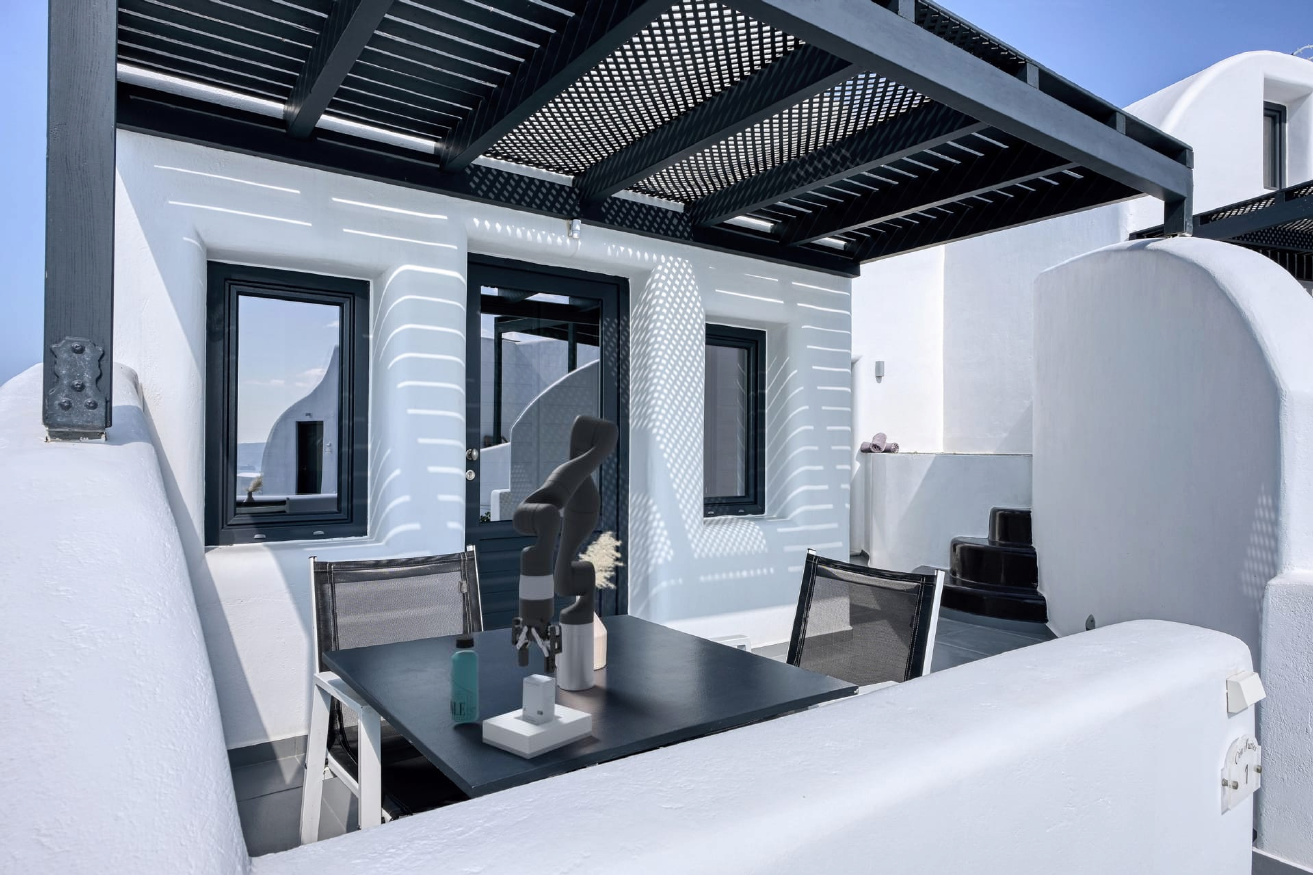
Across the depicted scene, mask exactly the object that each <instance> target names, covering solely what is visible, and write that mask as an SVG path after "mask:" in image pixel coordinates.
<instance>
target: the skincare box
mask: <svg viewBox="0 0 1313 875" xmlns="http://www.w3.org/2000/svg"><path fill="white" fill-rule="evenodd" d="M522 680H523V682H522V684H523V686H522V708H521V709H522V721H524V722H527V723H530V724H533V725H536V726H539V725H542V724H544V723H547V722H550V721H553V720H554V713H555V704H556V685H557V678H555V677H551V676H546V675H541V674H537V673H536V674H531V675H529V676H526V677H524V678H523V679H522Z"/></svg>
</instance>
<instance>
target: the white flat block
mask: <svg viewBox="0 0 1313 875" xmlns="http://www.w3.org/2000/svg"><path fill="white" fill-rule="evenodd" d="M522 709H523V708H520V709H519V708H518V709H517V710H513V711H510V712H507V713H504V714H500V715H496V716H493V717H490V718H487V719H484V720H482V743H485V744H488V745H490V746H493V747H495V748H498V749H501V750H503V751H507V752H509V753H511V754H514V755H517V756H520V757H523V758H525V759H527V760H528V759H531V758H535V757H537V756H540V755H543V754H545V753H548V752H550V751H553V750H556V749H559V748H562V747H564V746H567V745H569V744H572V743H575V742H577V741H580V740H583V739H586V738H588V737H591V736H592V735H593V734H592V732H593V726H592V725H593V724H592V721H593V720H592V718H593V714H592V713H587V712H583V711H582V710H581V711H580V710H577V709H574V708H570V707H567V706H564V705H560V704H557V703H555V713H554V720H553V721H550V722H547V723H544V724H542V725H539V726H536V725H533V724H530V723H527V722H524V721H522Z"/></svg>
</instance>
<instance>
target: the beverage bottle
mask: <svg viewBox="0 0 1313 875" xmlns="http://www.w3.org/2000/svg"><path fill="white" fill-rule="evenodd" d="M473 647H475V640H474V637H473V636H468V635H467V636H465V635H464V636H459V637H457V638H456V641H455V648H456V649H463V650H458V651H456V652H455V653H454V654H453V655H451V658H450V660H451V661H450V662H451V663H450V664H451V668H450V669H451V670H450V672H451V673H450V686H451V687H450V690H451V692H450V709H449V710H450V712H449V713H450V715H449V716H450V718H451V721H453V722H455V723H459V724H461V723H471V722H474V721H476V720H478V719H479V715H480V687H479V686H480V685H479V670H480V669H479V660H480V659H479V658H480V656H479V655H478V653H477V652H476V651H474V650H470V649H471V648H473ZM465 649H466V650H465ZM468 649H469V650H468Z"/></svg>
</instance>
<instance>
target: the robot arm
mask: <svg viewBox="0 0 1313 875" xmlns="http://www.w3.org/2000/svg"><path fill="white" fill-rule="evenodd" d="M618 440H619V427H618V425H617V424H616V423H615V422H613V421H611V420H608V419H604V418H601V417H597V416H593V415H590V414H583V413H580V414H579V415H577V416H576V417H575V419H574V421H573V423H572V426H571V431H570V438H569V453H568V454H569V455H568V456H569V457H568V459H569V460H568V461H567V462H564V463H563V464H561V465H559V466H557V468H555V469H554V470H553V471H552V472H551V473H550V474H549V476H548V477H547V478H546V479H545V481H544V483H543V484H542V485H541V486H540V487H539V488H538V489H537V490H534V492H532V493H531V494H530V495H529V496H527V497H526V498H524V500H522V501H521V502H520V503H519V504H518V505H517V507H516V509H515V510H514V513H513V515H512V526H513V528H514V530H515V531H516V532H517V533H518V534H520V535H524V536H534V537H535V536H537V537H538V538H537V540H536V542H535V545H531V546H527V547H524V548H523V549H522V550H521V551H520V552H521V553H520V576H519V577H520V578H519V583H518V584H519V586H518V587H519V588H518V592H519V595H518V596H519V597H518V598H519V599H518V615H519V617H514V618H512V620H511V641H510V642H511V645H512V646H516V649H517V652H518V654H517V655H518V656H517V657H518V666H519V667H521V668H524V667H527V666H529V660H530V659H529V658H530V657H529V652H530V650H529V649H530V648H528V647H529V646H530V644H531V643H535V644H537V645H538V647H539V648H540V649H542V651H543V654H544V658H543V660H544V662H543V663H544V668H543V670H544V672H543V673H544V674H545V675H546V674H547V675H550V674H552V673H554V671H556V686H559V688H561V690H566V691H583V690H584V691H585V690H588V689H591V688H593V687H594V685H595V681H594V680H595V605H596V604H595V603H596V602H595V601H596V599H595V598H596V581H597V576H596V568H595V565H594V563H593V562H591V561H590V560H579V561H578V560H577V561H573V560H574V557H575V555H576V553H577V551H578V550H579V548H580V547H581V546H582V544H583V543H584V542H585V541H587V539H588V538H589V537H590V536H591V534H592V533H593V532H594V530H595V529H596V527H597V526H598V523H599V517H600V510H601V496H600V493H599V490H598V487H597V486H596V483H595V482H594V479H593V476H592V473H594V472H595V471H596V470H597V469H598V468H599V467H600V466H601V465H602V463H604V462H605V461H606V459H608V458H609V457H610V455H611V454H612V453H613V451H614V450H615V448H616V445H617V443H618ZM560 510H563V511H562V512H563V513H562V516H561V512H560ZM560 532H561V533H560ZM559 534H560V541H559V547H558V550H557V551H558V552H557V555H556V562H555V565H554V553H555V548H556V544H557V540H558V536H559ZM554 566H555V567H554ZM555 594H556V595H557V596H559V597H564V598H567V597H568V598H569V597H579V598H578V599H577V601H576V602H574V603H573V604H571V605H569V606H568V607H566V608H563V609H561V611H560V612H559V621H558V622H559V624H557V625H552V621H551V619H552V618H553V617H554V615H555ZM517 637H518V638H517ZM555 663H556V664H555ZM555 669H556V670H555Z"/></svg>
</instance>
